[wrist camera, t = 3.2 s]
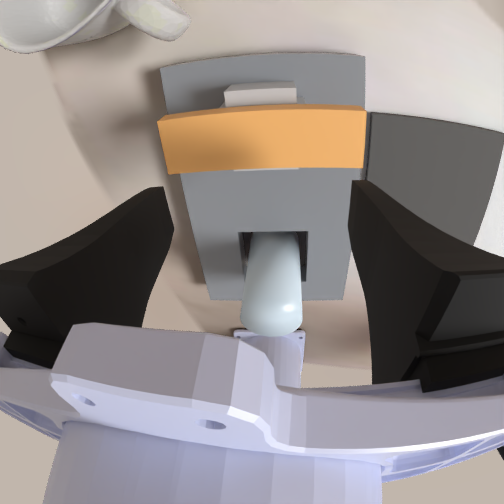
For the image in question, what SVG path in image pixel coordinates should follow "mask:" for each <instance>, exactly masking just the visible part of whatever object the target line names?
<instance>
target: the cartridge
mask: <svg viewBox="0 0 504 504" xmlns="http://www.w3.org/2000/svg"><path fill="white" fill-rule="evenodd" d="M240 319H241V322H242V324H243V325H244V326H245V327H246V328H247V329H248V330H249V331H251V332H253V333H255V334H258V335H262V336H268V337H277V336H284V335H287V334H290V333H292V332H294V331H295V330H296V329H298V327H299V326H300V325H301V323H302V294H301V271H300V252H299V239H298V236H297V234H296V232H295V231H273V232H254V233H253V234H252V237H251V243H250V250H249V257H248V264H247V272H246V279H245V286H244V293H243V300H242V308H241V315H240Z"/></svg>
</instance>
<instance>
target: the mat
mask: <svg viewBox="0 0 504 504" xmlns="http://www.w3.org/2000/svg"><path fill="white" fill-rule="evenodd" d="M503 145H504V133H501V132H497V131H493V130H489V129H484V128H480V127H475V126H470V125H465V124H460V123H454V122H448V121H442V120H436V119H429V118H422V117H414V116H405V115H396V114H385V113H373V112H371V122H370V138H369V151H368V163H367V173H366V180H368V181H370V182H371V183H373V184H374V185H376V186H377V187H379V188H380V189H381V190H383V191H384V192H385V193H387V194H388V195H389V196H391V197H392V198H393V199H395V200H396V201H397V202H399V203H400V204H401V205H403V206H404V207H405V208H407V209H408V210H410V211H411V212H413V213H414V214H415V215H417V216H418V217H420V218H421V219H423V220H425V221H426V222H428V223H430V224H431V225H433V226H435V227H436V228H438V229H440V230H441V231H443V232H445V233H447V234H449V235H451V236H453V237H455V238H457V239H459V240H461V241H463V242H465V243H467V244H470V245H472V246H473V245H474V242H475V240H476V237H477V234H478V232H479V229H480V226H481V223H482V220H483V218H484V215H485V212H486V209H487V206H488V202H489V199H490V196H491V193H492V189H493V186H494V182H495V178H496V175H497V171H498V167H499V163H500V159H501V154H502V150H503Z"/></svg>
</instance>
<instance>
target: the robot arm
mask: <svg viewBox="0 0 504 504" xmlns="http://www.w3.org/2000/svg"><path fill="white" fill-rule="evenodd" d="M347 226H348V232H349V239H350V245H351V249H352V253H353V256H354V260H355V263H356V266H357V270H358V273H359V277H360V280H361V284H362V288H363V291H364V296H365V300H366V306H367V314H368V321H369V331H370V342H371V358H372V385H362V386H348V387H327V388H301V371H302V365H303V355H304V345H305V331H303V330H295V331H294V332H292V333H290V334H287V335H284V336H277V337H268V336H262V335H258V334H255V333H253V332H251V331H249V330H235V331H234V337H230V336H224V335H219V334H214V333H209V332H192V331H176V330H163V329H149V328H142V323H143V319H144V314H145V311H146V307H147V303H148V300H149V297H150V294H151V291H152V289H153V286H154V284H155V282H156V279H157V277H158V274H159V272H160V270H161V267H162V265H163V263H164V260H165V258H166V255H167V253H168V251H169V248H170V244H171V241H172V236H173V232H174V226H173V222H172V218H171V214H170V211H169V207H168V203H167V199H166V195H165V191H164V188H163V186H162V187H151V188H148V189H145V190H143V191H141V192H140V193H138V194H136V195H135V196H133V197H131V198H130V199H128V200H127V201H125V202H124V203H122V204H121V205H119V206H118V207H116V208H115V209H113V210H112V211H110V212H109V213H107V214H106V215H104V216H103V217H101V218H99V219H98V220H96V221H95V222H93V223H92V224H90V225H88V226H87V227H85V228H84V229H82V230H80V231H78V232H76V233H75V234H73V235H71V236H69V237H67V238H65V239H63V240H61V241H59V242H57V243H55V244H53V245H51V246H49V247H46V248H44V249H42V250H40V251H37V252H34V253H32V254H29V255H27V256H24V257H22V258H18V259H15V260H12V261H9V262H6V263H3V264H1V265H0V317H1V318H2V319H3V321H4V322H5V323H6V324H7V325H8V327H9V328H10V329H11V330H12V331H11V333H10V334H9V336H7V335H5V334H4V333H2V332H0V410H1V411H3V412H4V413H6V414H8V415H10V416H11V417H13V418H15V419H17V420H19V421H20V422H22V423H24V424H26V425H28V426H30V427H32V428H34V429H35V430H37V431H39V432H41V433H43V434H45V435H47V436H49V437H51V438H53V439H56V440H58V441H59V445H58V448H57V451H56V455H55V458H54V461H53V465H52V468H51V472H50V476H49V479H48V483H47V488H46V491H45V496H44V500H43V504H382V483H384V482H390V481H395V480H399V479H404V478H408V477H412V476H416V475H420V474H424V473H427V472H431V471H434V470H438V469H441V468H444V467H447V466H450V465H453V464H457V463H459V462H462V461H465V460H468V459H471V458H473V457H476V456H479V455H481V454H484V453H486V452H489V451H491V450H494V449H496V448H499V447H501V446H504V257H501V256H498V255H495V254H492V253H489V252H486V251H484V250H481V249H479V248H477V247H474V246H472V245H470V244H467V243H465V242H463V241H461V240H459V239H457V238H455V237H453V236H451V235H449V234H447V233H445V232H443V231H441V230H440V229H438V228H436V227H435V226H433V225H431V224H430V223H428V222H426V221H425V220H423V219H421V218H420V217H418V216H417V215H415V214H414V213H413V212H411V211H410V210H408V209H407V208H405V207H404V206H403V205H401V204H400V203H399V202H397V201H396V200H395V199H393V198H392V197H391V196H389V195H388V194H387V193H385V192H384V191H383V190H381V189H380V188H379V187H377V186H376V185H374V184H373V183H371V182H370V181H368V180H352V185H351V196H350V206H349V216H348V225H347Z"/></svg>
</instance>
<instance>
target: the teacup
mask: <svg viewBox="0 0 504 504" xmlns="http://www.w3.org/2000/svg"><path fill="white" fill-rule="evenodd" d="M190 23H191V18H190V16H189V15H188V14H187V13H186V12H185V11H184V10H183V9H182V8H181V7H179V6H178V5H177V4H176V3H174V2H173V1H172V0H0V46H2V47H4V49H8V50H10V51H13V52H18V53H25V54H29V53H33V52H39V51H43V50H46V49H49V48H52V47H56V46H63V45H70V44H76V43H82V42H87V41H91V40H95V39H99V38H102V37H105V36H107V35H110V34H112V33H115V32H117V31H119V30H121V29H122V28H124V27H126V26H128V25H129V24H132V25H133V26H134V27H136V28H137V29H139V30H141V31H142V32H144V33H146V34H148V35H150V36H152V37H154V38H157V39H160V40H164V41H173V40H176V39H177V38H179V37H180V36H181V35H182V34H183V33H184V32H185V31H186V29H187V28H188V27H189V25H190Z"/></svg>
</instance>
